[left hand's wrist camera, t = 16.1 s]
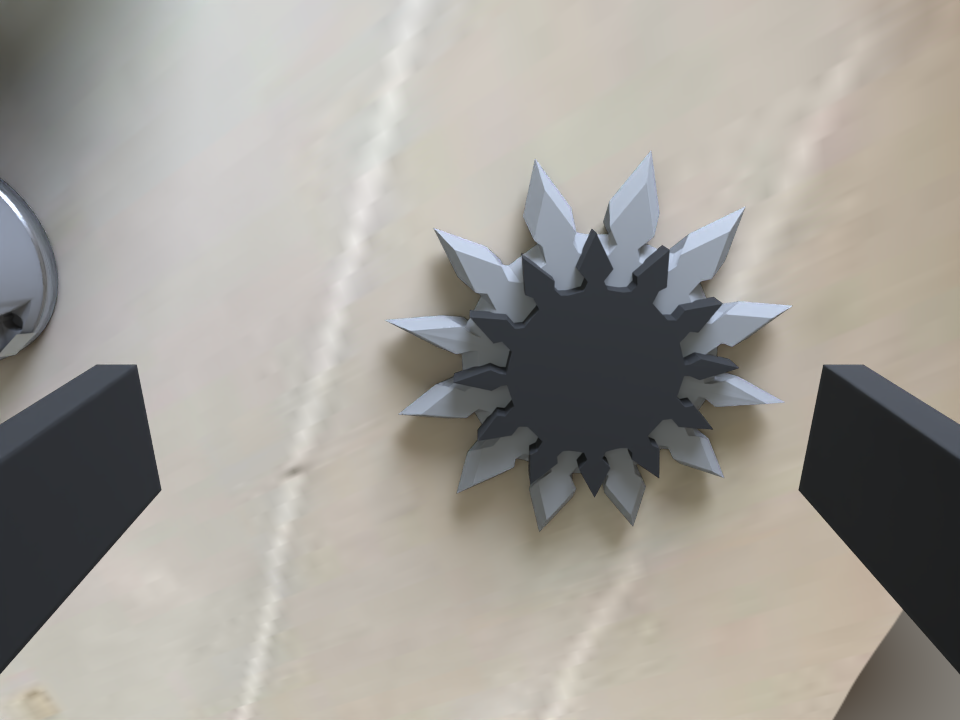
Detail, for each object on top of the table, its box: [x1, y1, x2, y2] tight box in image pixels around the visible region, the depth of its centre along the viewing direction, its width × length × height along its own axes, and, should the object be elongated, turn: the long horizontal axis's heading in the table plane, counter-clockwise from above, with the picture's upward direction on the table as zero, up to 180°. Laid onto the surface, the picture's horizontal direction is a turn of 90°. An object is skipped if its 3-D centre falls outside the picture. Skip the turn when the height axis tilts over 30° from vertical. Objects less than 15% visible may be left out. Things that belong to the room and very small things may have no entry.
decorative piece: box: [385, 151, 792, 532], centre depth 46 cm, size 30×4×30 cm
